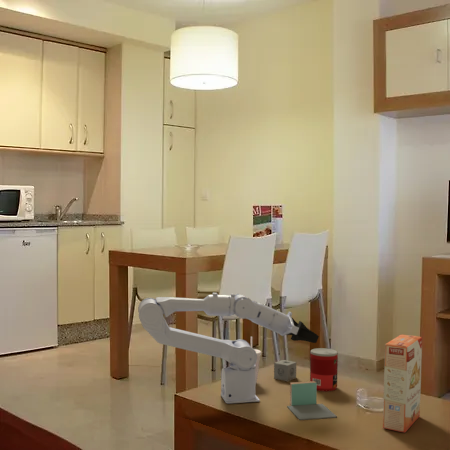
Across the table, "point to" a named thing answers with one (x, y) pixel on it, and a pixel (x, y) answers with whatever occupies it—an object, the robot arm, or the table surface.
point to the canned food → (324, 368)
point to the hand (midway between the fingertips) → (312, 337)
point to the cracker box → (402, 382)
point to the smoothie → (257, 360)
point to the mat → (311, 411)
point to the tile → (303, 393)
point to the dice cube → (285, 370)
